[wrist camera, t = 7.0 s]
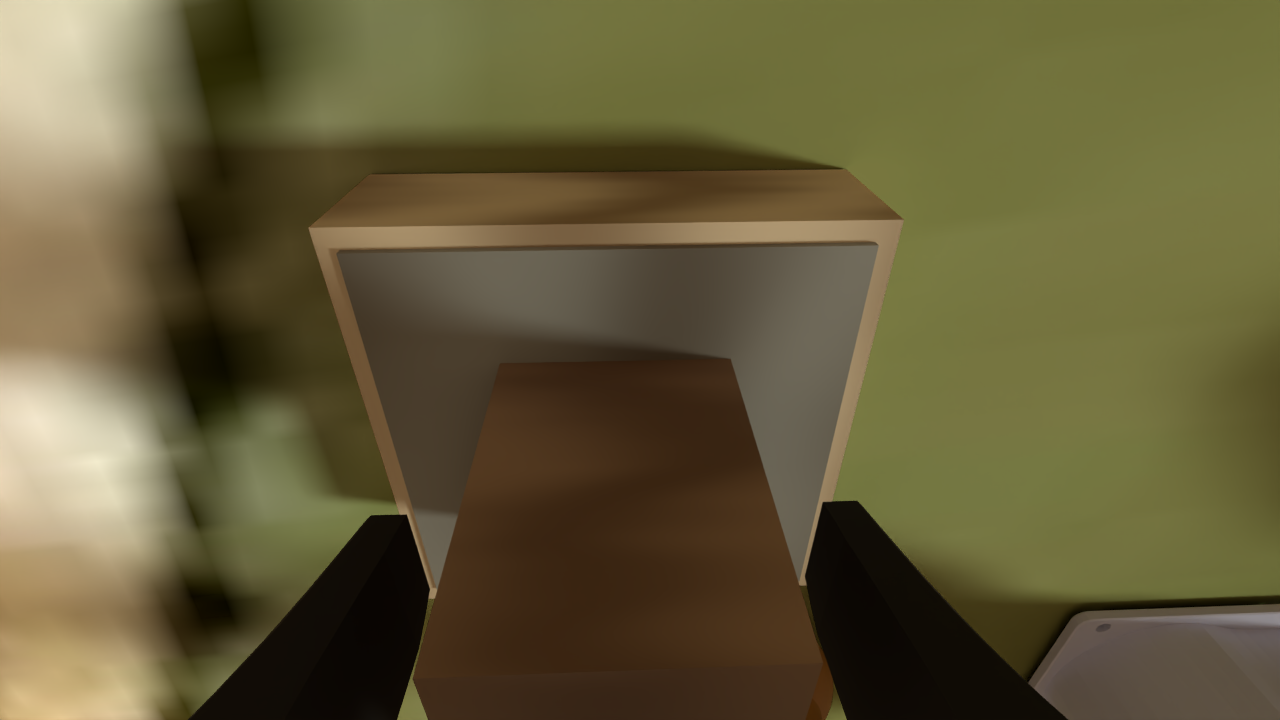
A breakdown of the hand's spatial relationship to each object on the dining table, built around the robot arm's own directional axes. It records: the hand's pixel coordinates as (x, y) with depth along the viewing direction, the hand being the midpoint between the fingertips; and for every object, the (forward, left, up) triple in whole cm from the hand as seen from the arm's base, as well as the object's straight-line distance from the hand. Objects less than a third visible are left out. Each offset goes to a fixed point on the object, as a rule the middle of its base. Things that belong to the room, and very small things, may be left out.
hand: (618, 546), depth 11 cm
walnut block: (0, 0, -2) cm, 3 cm away
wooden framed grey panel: (0, 0, -6) cm, 6 cm away
